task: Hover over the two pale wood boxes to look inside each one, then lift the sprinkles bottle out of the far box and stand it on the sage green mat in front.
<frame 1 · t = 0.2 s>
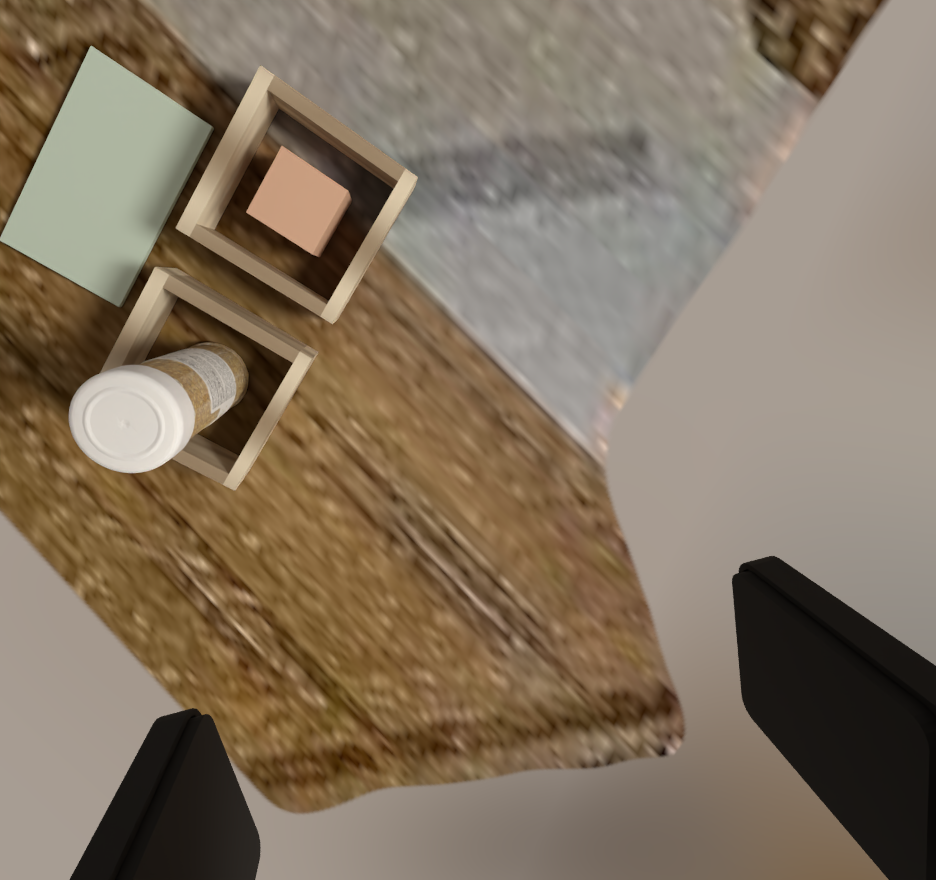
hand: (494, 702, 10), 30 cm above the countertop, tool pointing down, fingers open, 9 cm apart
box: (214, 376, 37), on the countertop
sprinkles bottle: (215, 375, 37), resting in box
mat: (108, 184, 33), on the countertop
terracotta cube: (302, 206, 33), in the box
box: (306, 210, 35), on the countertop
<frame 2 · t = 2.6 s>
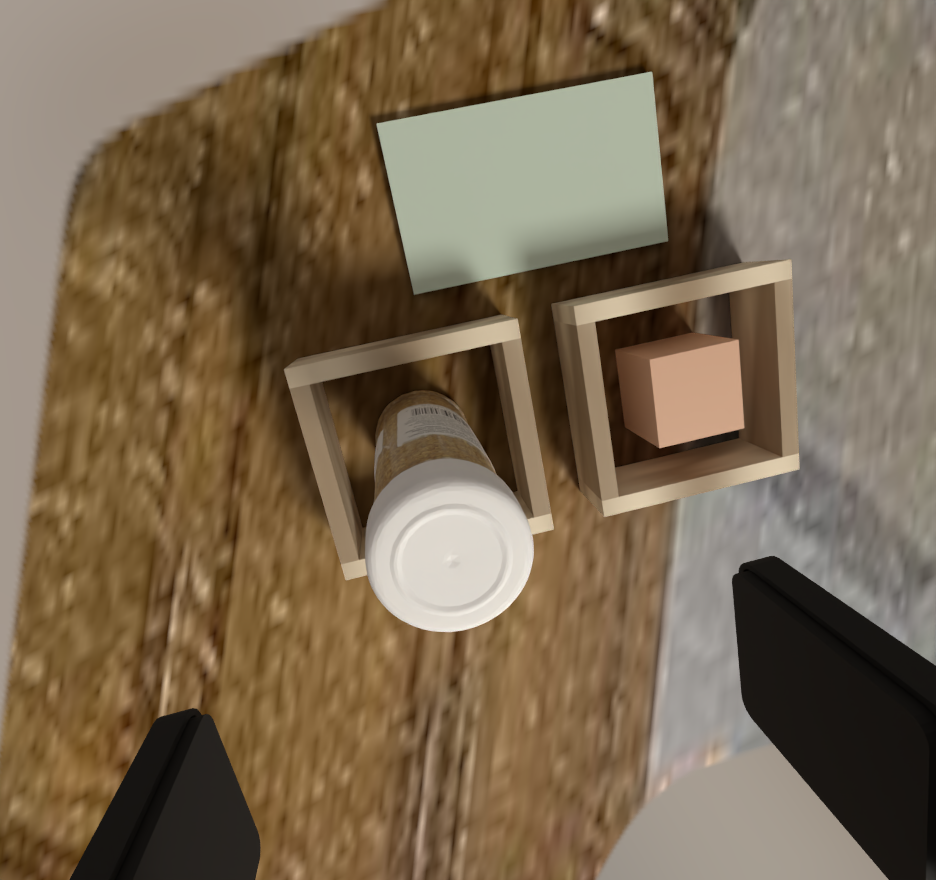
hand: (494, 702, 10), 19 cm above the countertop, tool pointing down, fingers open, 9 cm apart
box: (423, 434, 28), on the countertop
sprinkles bottle: (423, 433, 28), resting in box
mat: (528, 187, 26), on the countertop
terracotta cube: (676, 387, 27), in the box
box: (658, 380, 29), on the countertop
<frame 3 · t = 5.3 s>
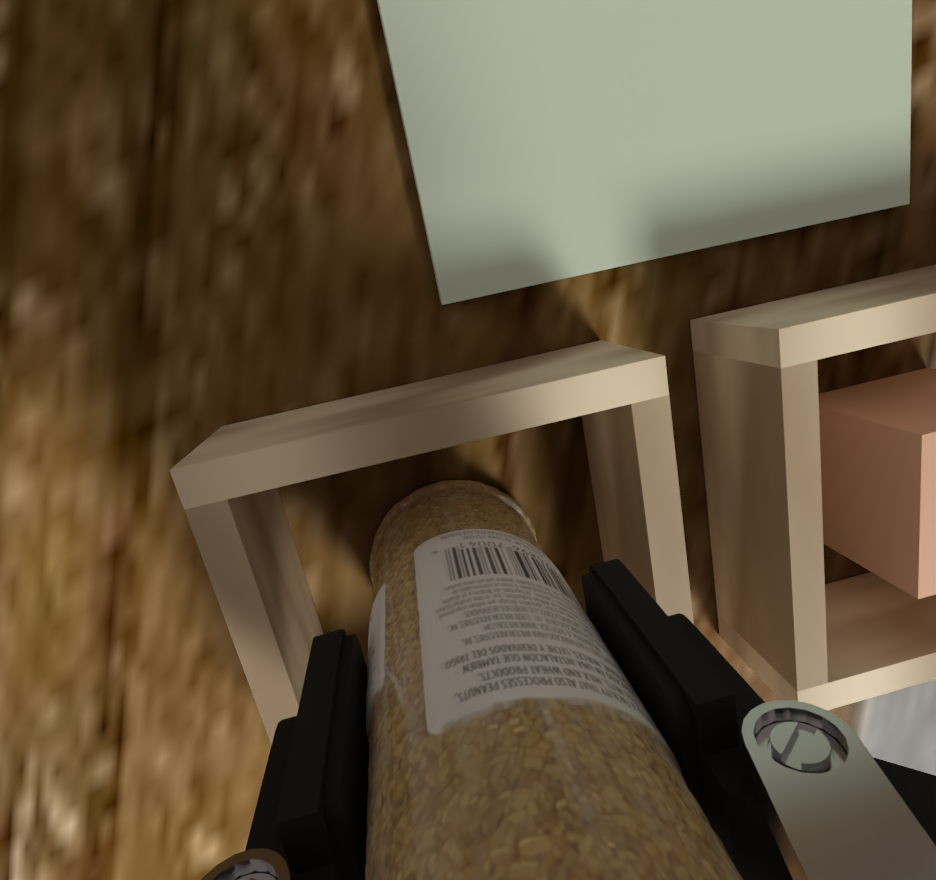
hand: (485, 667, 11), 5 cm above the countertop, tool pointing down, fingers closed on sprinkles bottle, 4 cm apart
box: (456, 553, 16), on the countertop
sprinkles bottle: (455, 550, 16), resting in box, touching gripper
mat: (660, 98, 13), on the countertop
terracotta cube: (921, 471, 15), in the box
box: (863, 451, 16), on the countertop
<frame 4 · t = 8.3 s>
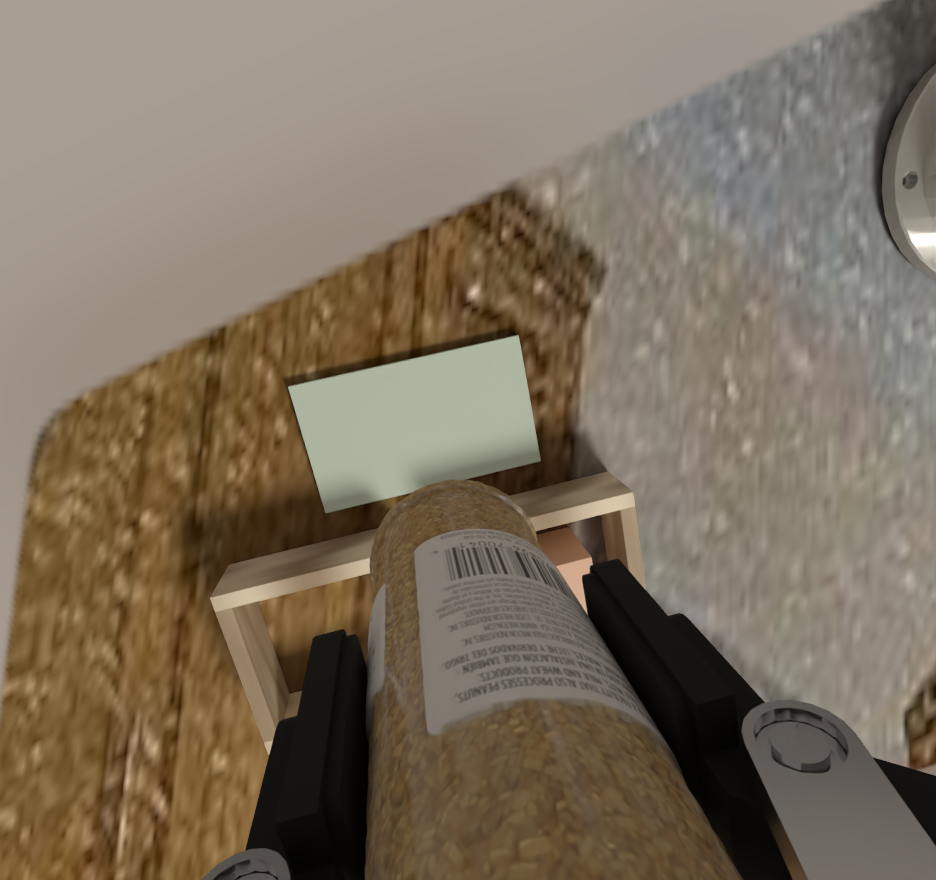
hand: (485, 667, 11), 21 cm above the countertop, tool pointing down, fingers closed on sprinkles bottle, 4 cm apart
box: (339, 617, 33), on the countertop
sprinkles bottle: (455, 550, 16), point 16 cm above the countertop, touching gripper
mat: (420, 424, 31), on the countertop
terracotta cube: (549, 581, 32), in the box
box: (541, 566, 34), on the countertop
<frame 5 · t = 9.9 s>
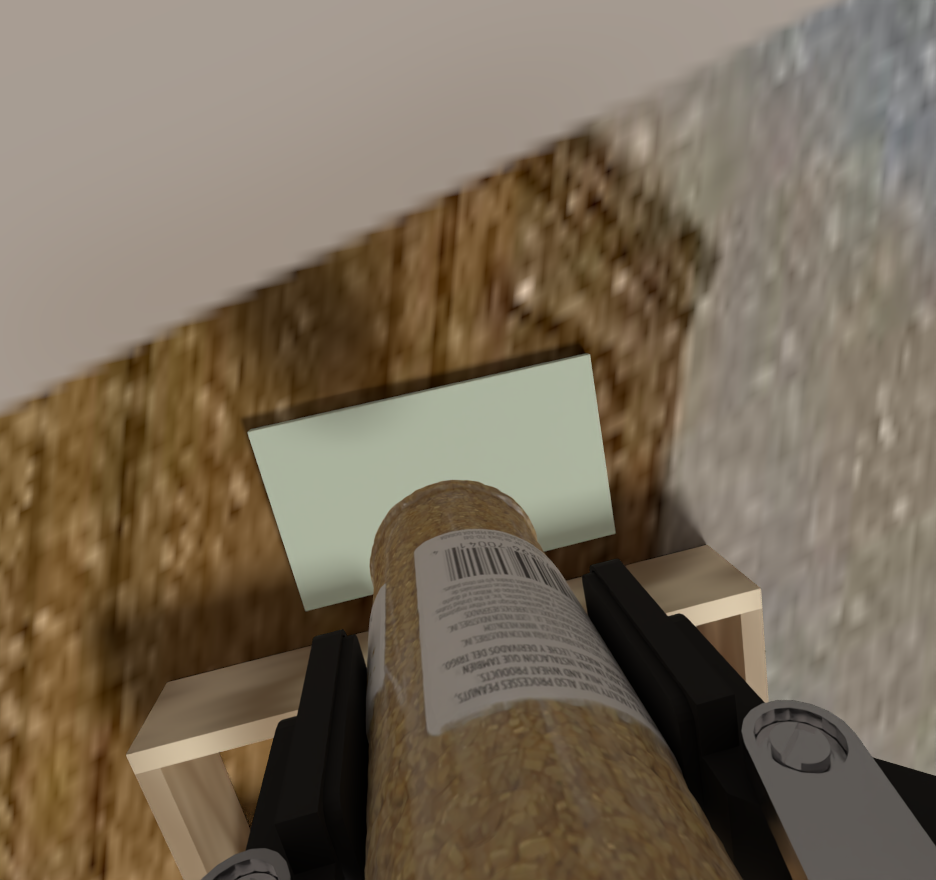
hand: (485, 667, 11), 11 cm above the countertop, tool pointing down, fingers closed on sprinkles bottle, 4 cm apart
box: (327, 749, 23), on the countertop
sprinkles bottle: (455, 550, 16), point 6 cm above the countertop, touching gripper
mat: (442, 482, 21), on the countertop
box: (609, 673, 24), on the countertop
when the fingers open (7 cm above the countertop, at t = 11.1 s): sprinkles bottle drops 1 cm, resting on mat.
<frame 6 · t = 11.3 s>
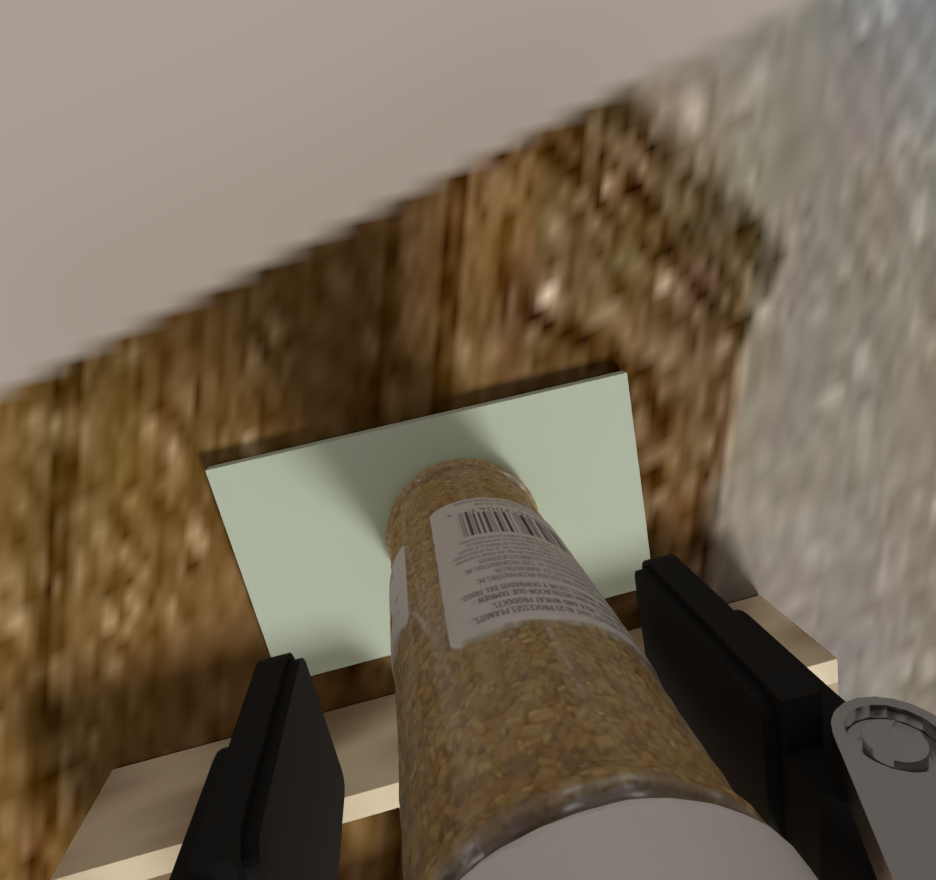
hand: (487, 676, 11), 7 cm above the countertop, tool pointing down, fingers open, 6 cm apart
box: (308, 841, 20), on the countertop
sprinkles bottle: (463, 524, 17), resting on mat
mat: (447, 527, 17), on the countertop
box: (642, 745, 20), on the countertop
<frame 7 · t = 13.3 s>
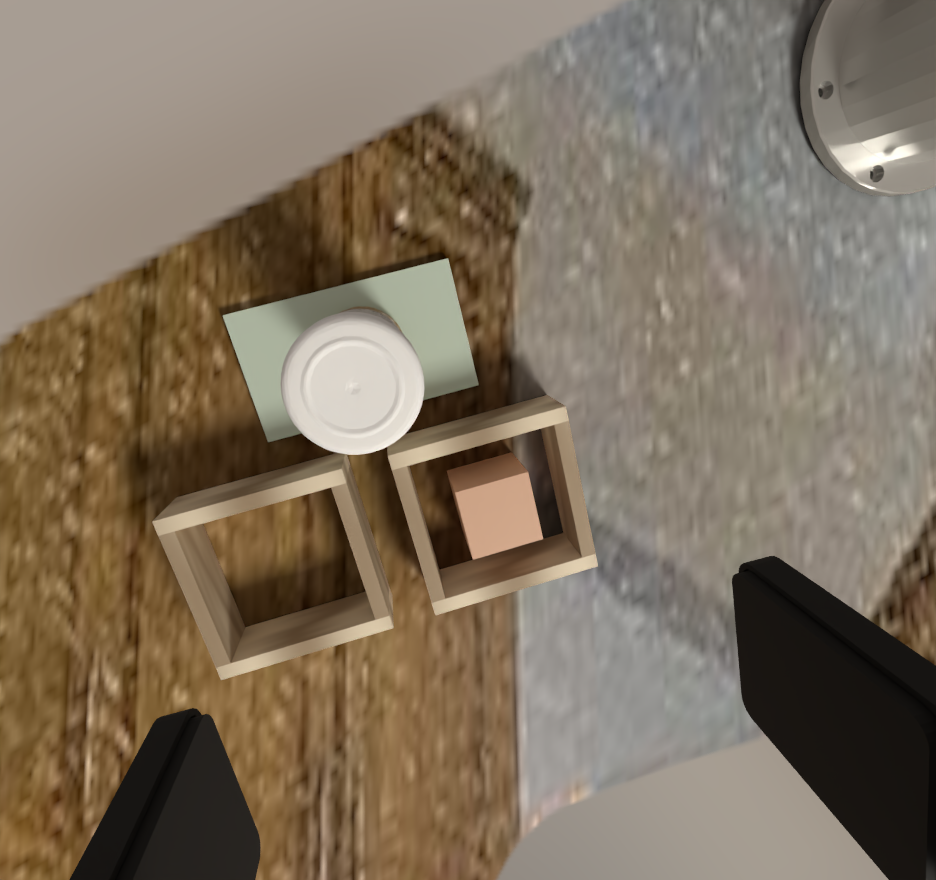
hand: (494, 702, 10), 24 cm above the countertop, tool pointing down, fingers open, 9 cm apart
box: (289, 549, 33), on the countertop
sprinkles bottle: (365, 348, 31), resting on mat
mat: (356, 351, 31), on the countertop
terracotta cube: (493, 503, 33), in the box
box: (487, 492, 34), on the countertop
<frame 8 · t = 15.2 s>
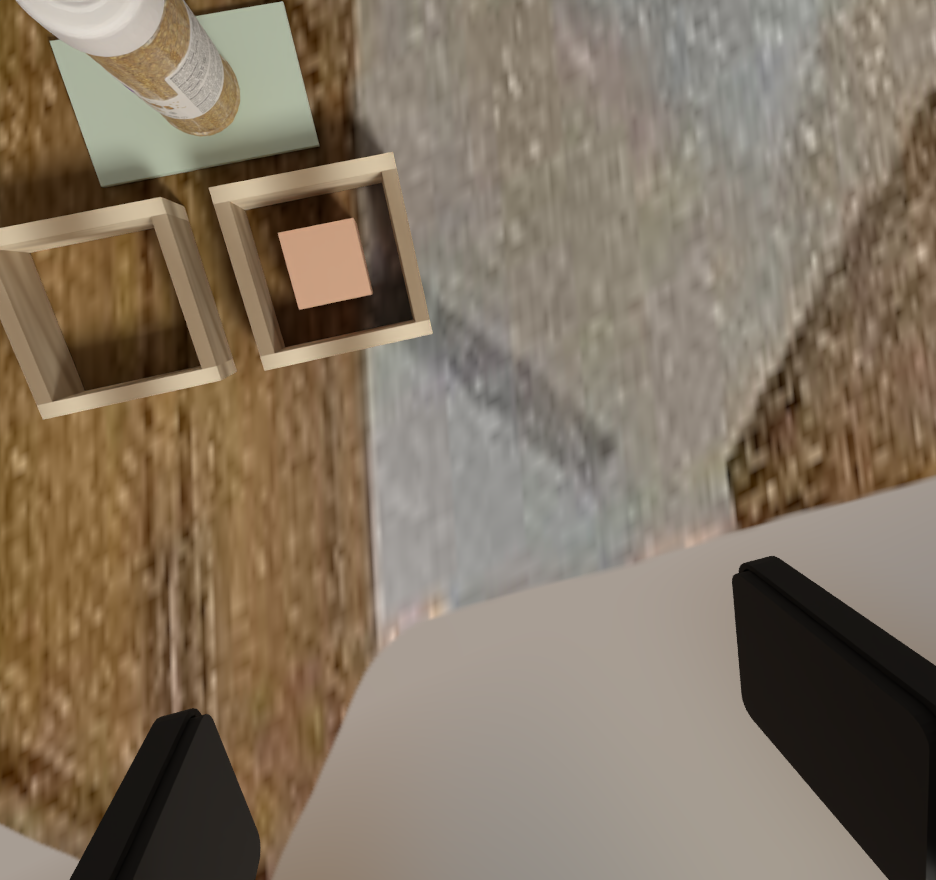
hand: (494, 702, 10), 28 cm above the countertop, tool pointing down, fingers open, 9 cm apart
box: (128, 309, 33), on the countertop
sprinkles bottle: (200, 93, 31), resting on mat
mat: (192, 97, 31), on the countertop
terracotta cube: (329, 265, 33), in the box
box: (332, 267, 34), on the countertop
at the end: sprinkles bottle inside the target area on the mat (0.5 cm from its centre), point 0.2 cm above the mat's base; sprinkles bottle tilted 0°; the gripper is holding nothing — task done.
